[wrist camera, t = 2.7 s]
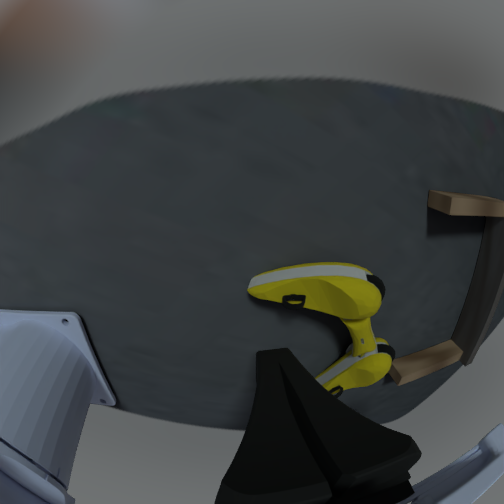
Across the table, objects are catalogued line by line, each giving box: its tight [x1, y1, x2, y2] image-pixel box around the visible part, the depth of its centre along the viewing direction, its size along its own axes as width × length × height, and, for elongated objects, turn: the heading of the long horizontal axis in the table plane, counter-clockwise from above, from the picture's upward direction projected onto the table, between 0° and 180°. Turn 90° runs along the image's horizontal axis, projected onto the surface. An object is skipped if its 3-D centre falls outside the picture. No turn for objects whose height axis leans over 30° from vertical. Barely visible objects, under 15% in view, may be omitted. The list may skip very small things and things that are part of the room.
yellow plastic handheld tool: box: [247, 262, 395, 398], centre depth 15 cm, size 10×6×4 cm, turn 25°
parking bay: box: [388, 190, 504, 386], centre depth 15 cm, size 8×14×3 cm, turn 1°
